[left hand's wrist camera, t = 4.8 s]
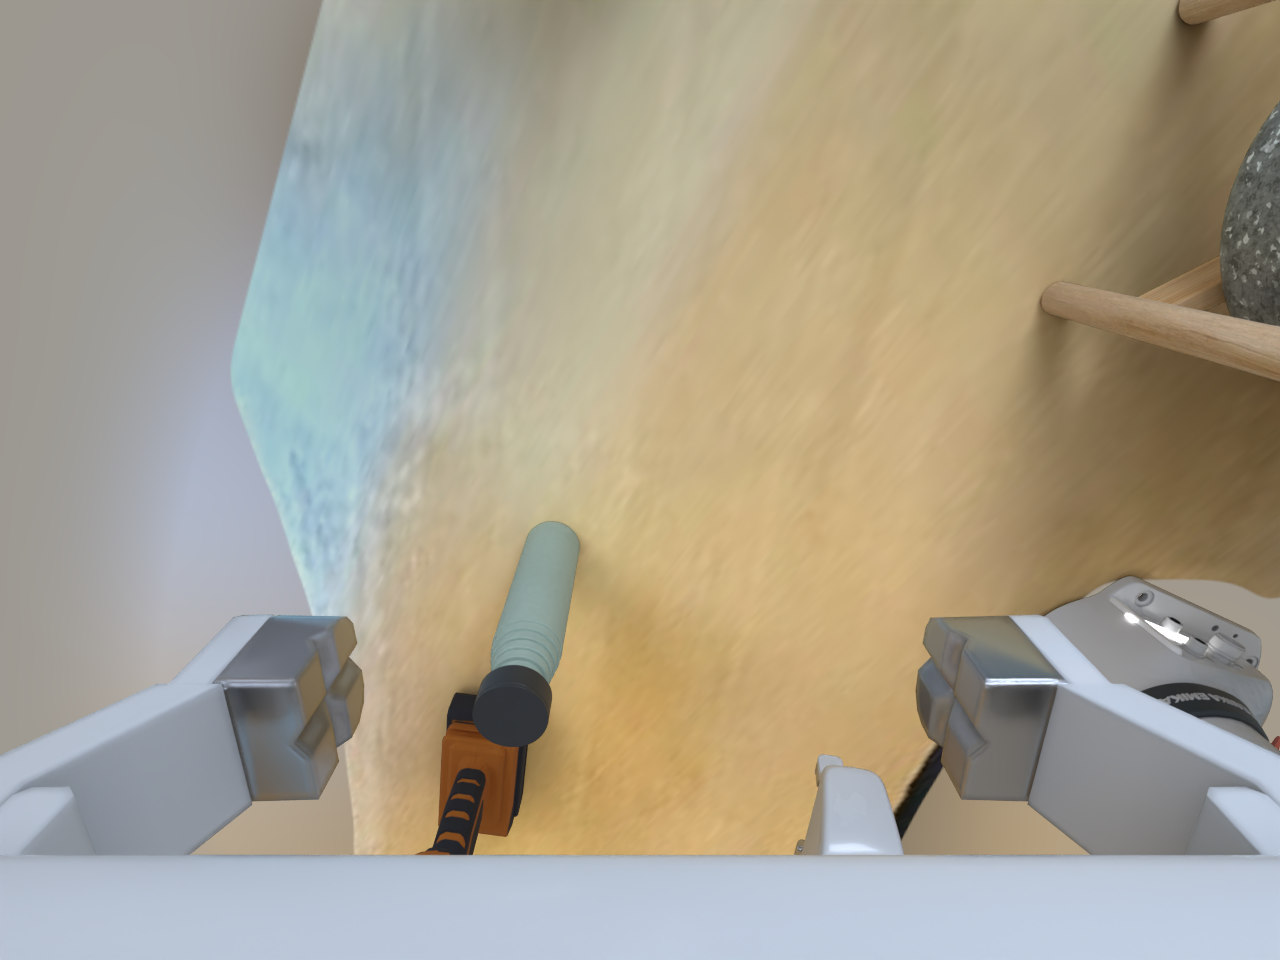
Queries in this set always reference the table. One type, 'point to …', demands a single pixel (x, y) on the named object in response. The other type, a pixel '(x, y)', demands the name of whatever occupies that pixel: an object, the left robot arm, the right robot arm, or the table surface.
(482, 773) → the power drill
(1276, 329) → the planter
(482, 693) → the cap
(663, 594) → the table surface
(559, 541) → the bottle
